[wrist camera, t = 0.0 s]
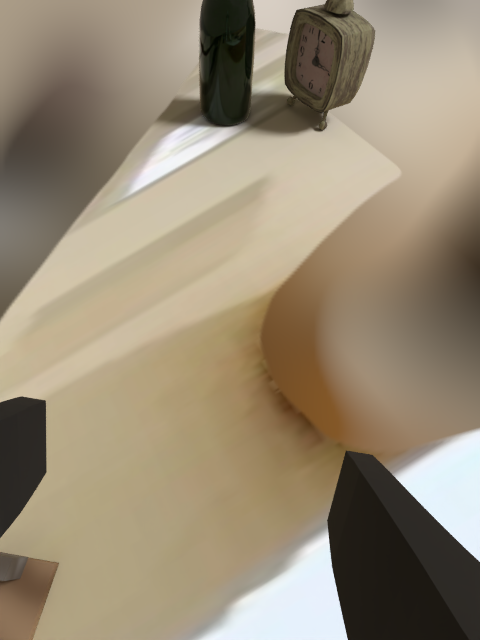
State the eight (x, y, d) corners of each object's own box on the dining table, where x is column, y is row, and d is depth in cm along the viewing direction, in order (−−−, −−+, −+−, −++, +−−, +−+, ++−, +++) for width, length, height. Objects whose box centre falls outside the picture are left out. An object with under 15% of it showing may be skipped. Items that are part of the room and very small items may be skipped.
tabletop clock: (278, 103, 80) (302, -56, 59) (309, 94, 83) (342, -61, 62) (321, 136, 74) (364, -27, 53) (353, 125, 78) (405, -34, 56)
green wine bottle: (213, 131, 73) (213, -127, 45) (192, 105, 78) (180, -143, 50) (258, 121, 76) (285, -127, 48) (235, 97, 81) (248, -142, 53)
